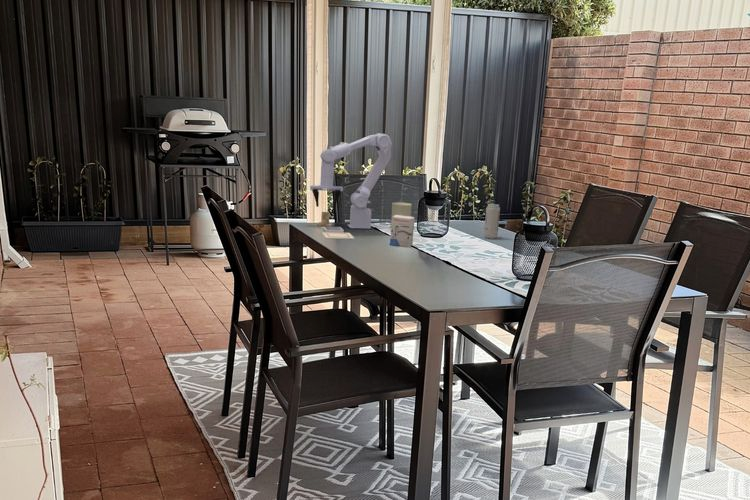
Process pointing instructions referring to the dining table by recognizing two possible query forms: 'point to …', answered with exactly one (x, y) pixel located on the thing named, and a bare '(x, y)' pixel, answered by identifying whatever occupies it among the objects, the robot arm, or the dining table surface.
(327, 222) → the stamp
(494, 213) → the energy drink can
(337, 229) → the ink pad
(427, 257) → the dining table surface
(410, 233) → the ink box
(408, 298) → the dining table surface
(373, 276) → the dining table surface
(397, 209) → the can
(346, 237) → the mat
